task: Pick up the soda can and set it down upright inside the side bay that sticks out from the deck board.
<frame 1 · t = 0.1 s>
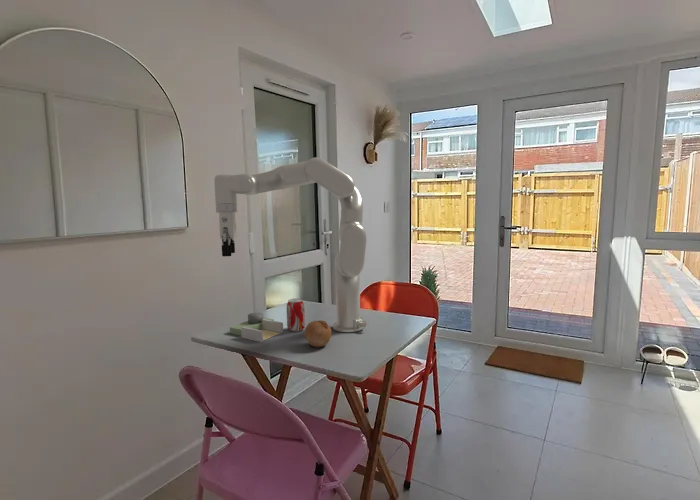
hand: (228, 254, 146), 31 cm above the table, tool pointing down, fingers open, 9 cm apart
onion: (318, 346, 137), on the table
deck: (252, 328, 157), on the table
soda can: (296, 330, 155), on the table
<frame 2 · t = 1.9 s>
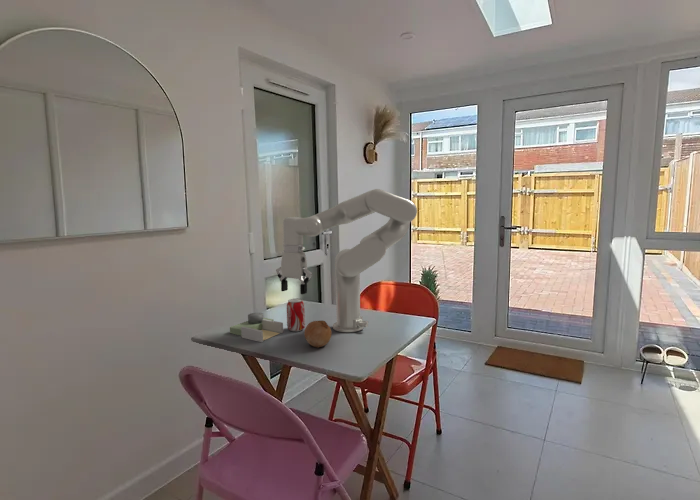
hand: (293, 292, 153), 15 cm above the table, tool pointing down, fingers open, 9 cm apart
nothing on the table moved.
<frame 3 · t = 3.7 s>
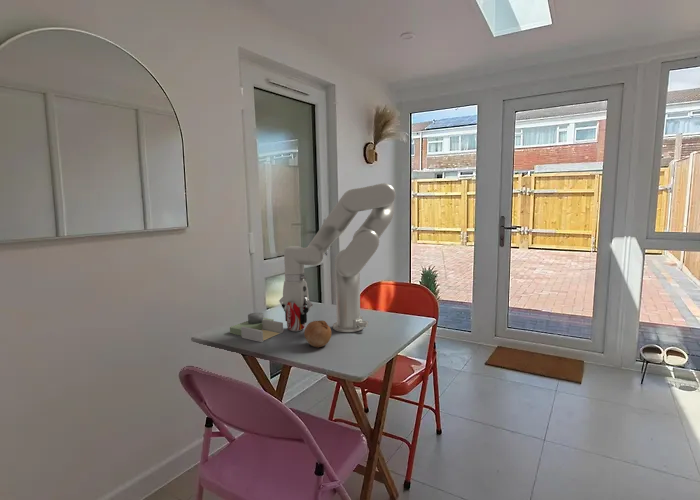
hand: (296, 321, 155), 3 cm above the table, tool pointing down, fingers closed on soda can, 6 cm apart
soda can: (296, 330, 155), on the table, touching gripper
everything else where it was.
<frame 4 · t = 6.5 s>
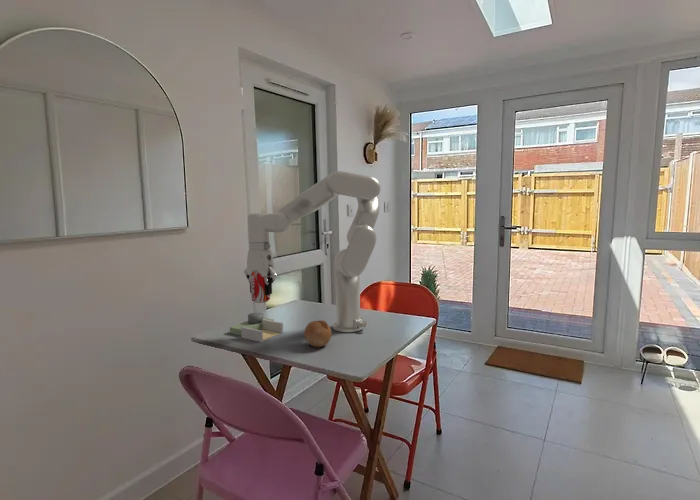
hand: (261, 293, 147), 16 cm above the table, tool pointing down, fingers closed on soda can, 6 cm apart
soda can: (261, 301, 148), point 13 cm above the table, touching gripper
everything else where it was.
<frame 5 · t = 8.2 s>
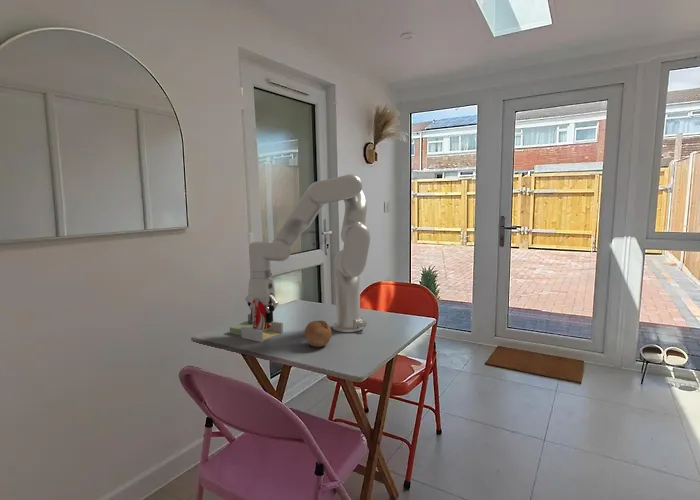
hand: (262, 320, 148), 6 cm above the table, tool pointing down, fingers closed on soda can, 6 cm apart
soda can: (262, 329, 149), point 2 cm above the table, touching gripper
everything else where it was.
when the fingers open (5 cm above the table, at t = 9.3 s): soda can drops 2 cm, resting on deck.
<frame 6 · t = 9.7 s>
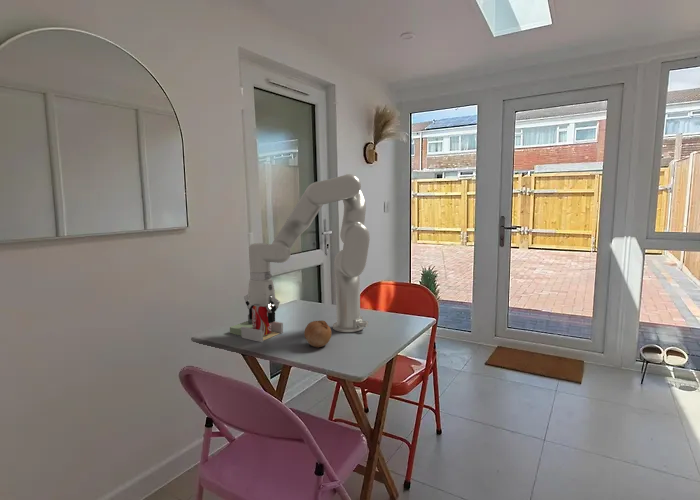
hand: (262, 320, 148), 6 cm above the table, tool pointing down, fingers open, 9 cm apart
soda can: (262, 334, 149), resting on deck
everything else where it was.
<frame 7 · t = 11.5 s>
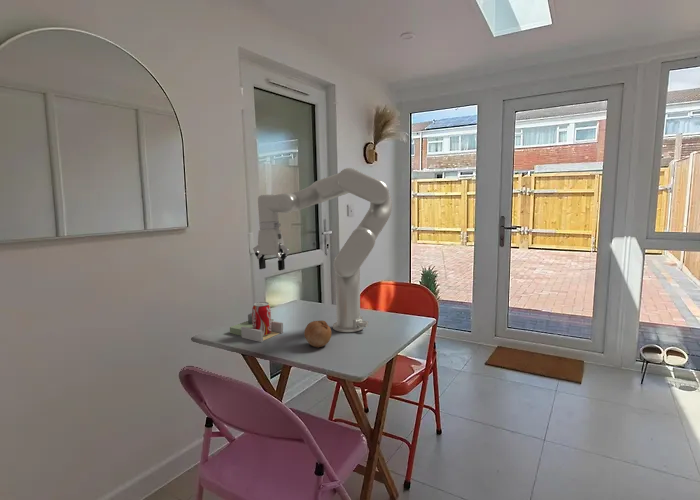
hand: (271, 269, 155), 24 cm above the table, tool pointing down, fingers open, 9 cm apart
nothing on the table moved.
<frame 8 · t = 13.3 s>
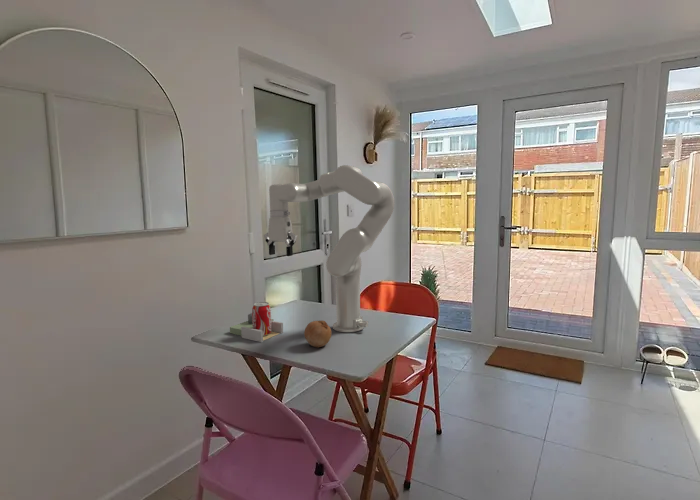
hand: (280, 255, 165), 28 cm above the table, tool pointing down, fingers open, 9 cm apart
nothing on the table moved.
at the end: soda can inside the target area on the deck (0.3 cm from its centre), point 0.0 cm above the deck's base; soda can tilted 0°; the gripper is holding nothing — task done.
